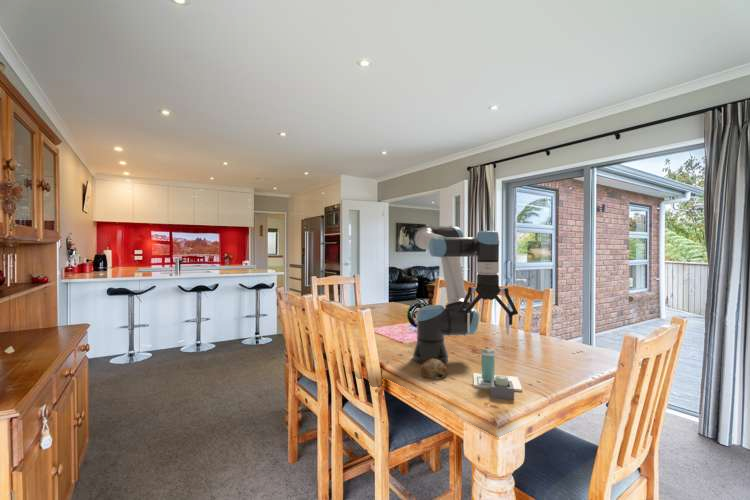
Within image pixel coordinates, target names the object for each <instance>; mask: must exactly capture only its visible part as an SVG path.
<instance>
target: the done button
mask: <svg viewBox="0 0 750 500" xmlns="http://www.w3.org/2000/svg"><path fill="white" fill-rule="evenodd" d="M506 376H507V375H501V374H498V376H496V377H495V386H501V387H508V377H506Z"/></svg>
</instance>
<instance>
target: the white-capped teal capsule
mask: <svg viewBox="0 0 750 500" xmlns="http://www.w3.org/2000/svg"><path fill="white" fill-rule="evenodd" d="M481 374H482V379H483V381H484V382H486V383H490V379H494V375H495V351H494V350H492V349H482V350H481Z"/></svg>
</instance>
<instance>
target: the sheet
mask: <svg viewBox="0 0 750 500" xmlns="http://www.w3.org/2000/svg"><path fill="white" fill-rule="evenodd" d="M472 374H473V375H472V376H473V388H479V389H489V390H490V383H486V382H484V381H483V379H482V373H476V372H473V373H472ZM498 375H499V374H498ZM498 375H497V374H494V379H495V377H496V376H498ZM505 376H506V377H508V381H512V384H513V387H514V392H519V393H520V392H523V387H522V385H521V381H520V379H519V377H518V376H513V375H512V376H511V375H505Z"/></svg>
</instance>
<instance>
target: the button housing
mask: <svg viewBox="0 0 750 500" xmlns="http://www.w3.org/2000/svg"><path fill="white" fill-rule="evenodd" d="M489 390H490V398H494V399H503V400H504V399H505V400H512V401H513V400H514V401H515V391H514V387H513V384H512V381H508V387H501V386H495V379H490V389H489Z"/></svg>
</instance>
